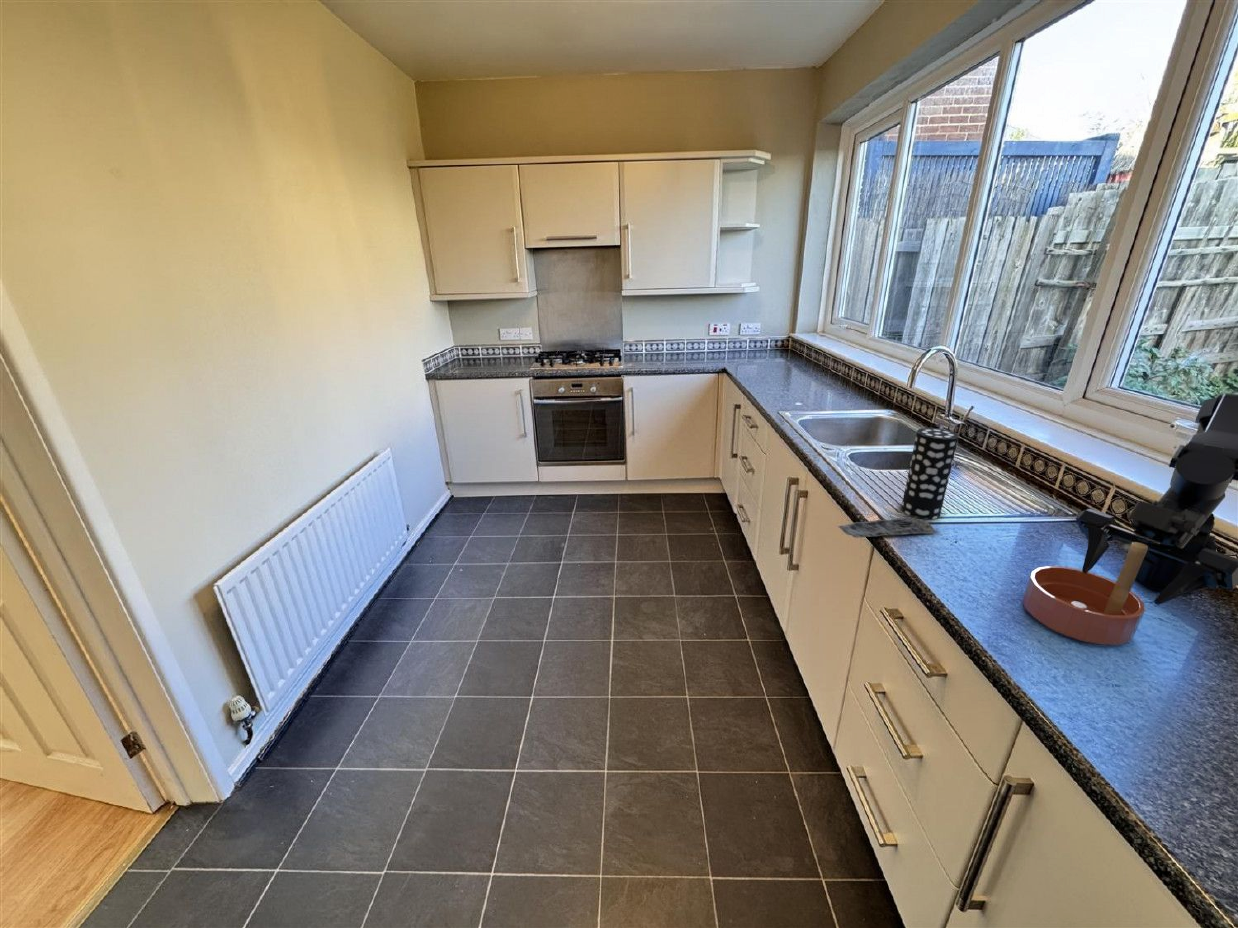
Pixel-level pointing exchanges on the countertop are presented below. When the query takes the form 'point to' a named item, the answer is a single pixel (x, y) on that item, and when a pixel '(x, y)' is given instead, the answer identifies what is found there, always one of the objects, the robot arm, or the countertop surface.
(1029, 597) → the bowl
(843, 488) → the countertop surface
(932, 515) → the spotted tube
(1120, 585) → the stirrer
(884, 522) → the driftwood
